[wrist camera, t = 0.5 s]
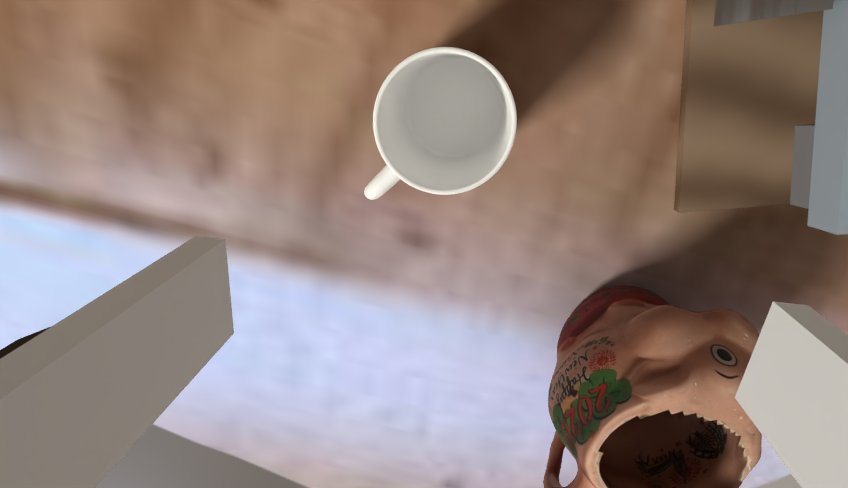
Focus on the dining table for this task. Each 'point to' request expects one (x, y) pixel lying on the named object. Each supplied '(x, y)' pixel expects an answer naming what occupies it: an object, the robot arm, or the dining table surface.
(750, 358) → the robot arm
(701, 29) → the low stand
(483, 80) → the cup
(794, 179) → the grey long tray
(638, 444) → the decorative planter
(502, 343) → the dining table surface
